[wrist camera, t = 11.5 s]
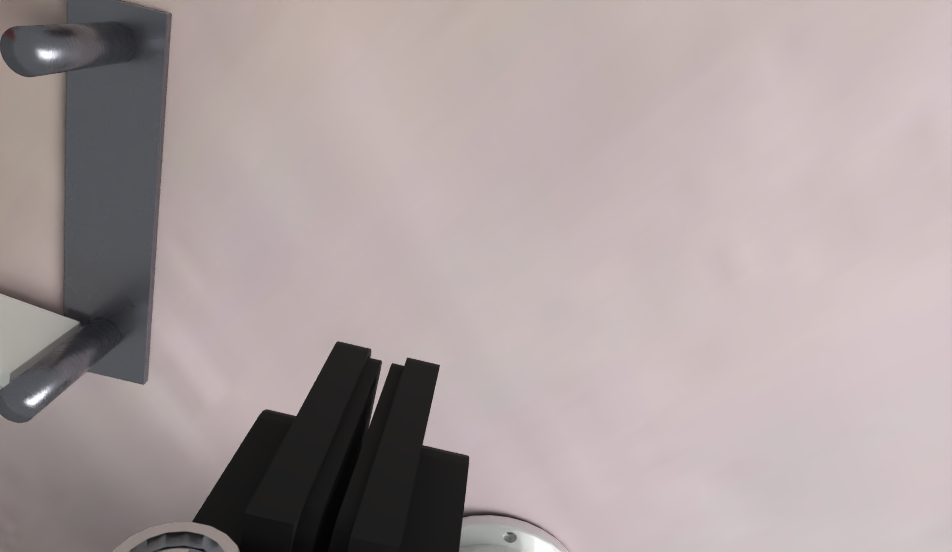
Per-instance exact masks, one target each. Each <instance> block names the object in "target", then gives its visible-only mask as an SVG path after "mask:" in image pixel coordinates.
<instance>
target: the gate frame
mask: <svg viewBox="0 0 952 552" xmlns="http://www.w3.org/2000/svg"><path fill="white" fill-rule="evenodd" d="M171 15H172V14H170V13H166V12H162V11H159V10H155V9H151V8H147V7H143V6H139V5H135V4H131V3H127V2H123V1H119V0H67V24H55V25H36V26H17V27H12V28H9V29H8V30H6V31H5V32H4V34H3V35H2V37H1V41H0V50H1V54H2V57H3V59H4V61H5V63H6V64H7V65H8V66H9V68H10V69H12V70H13V71H14V72H16V73H17V74H19V75H21V76H25V77H35V76H42V75H48V74H55V73H61V72H67V80H66V169H65V258H64V316H65V317H67V318H70V319H73V320H76V321H79V322H80V326H79V331H78V332H77V333H76V334H74V335H73V336H72V337H70V338H69V339H68V340H66V341H65V342H64V343H62V344H61V345H60V346H58V347H57V348H55V349H54V350H53V351H51V352H50V353H49V354H47V355H46V356H45V357H43V358H42V359H41V360H39V361H38V362H37V363H35V364H34V365H33V366H31V367H30V368H29V369H27V370H26V371H25V372H23V373H22V374H21V375H19V376H18V377H17V378H15V379H14V380H13V381H11V382H10V383H9V384H7V385H6V386H5V387H3V388H2V389H1V390H0V414H1V415H2V416H3V417H5V418H6V419H8V420H10V421H13V422H17V423H23V422H27V421H29V420H30V419H32V418H33V417H34V416H35V415H36V414H37V413H39V412H40V411H41V410H42V409H43V408H44V407H46V406H47V405H48V404H49V403H50V402H51V401H53V400H54V399H55V398H56V397H57V396H58V395H60V394H61V393H62V392H63V391H64V390H65V389H67V388H68V387H69V386H70V385H71V384H73V383H74V382H75V381H76V380H77V379H78V378H80V377H81V376H82V375H83V374H84V373H85V372H92V373H96V374H100V375H104V376H109V377H113V378H117V379H121V380H126V381H130V382H134V383H138V384H143V385H144V384H145V383H146V382H147V381H148V367H149V351H150V336H151V321H152V305H153V290H154V275H155V259H156V244H157V229H158V214H159V198H160V183H161V168H162V152H163V137H164V122H165V106H166V91H167V76H168V61H169V45H170V30H171Z"/></svg>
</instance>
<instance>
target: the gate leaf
mask: <svg viewBox="0 0 952 552" xmlns="http://www.w3.org/2000/svg"><path fill="white" fill-rule="evenodd" d="M79 326H80V322H79V321H76V320H73V319H70V318H67V317H65V316H62V315H59V314H56V313H53V312H50V311H48V310H45V309H42V308H39V307H36V306H34V305H31V304H28V303H25V302H22V301H20V300H17V299H14V298H11V297H8V296H6V295H3V294H0V386H2V387H5V386H6V385H7V384H9V383H10V382H11V381H13V380H14V379H15V378H17V377H18V376H19V375H21V374H22V373H23V372H25V371H26V370H27V369H29V368H30V367H31V366H33V365H34V364H35V363H37V362H38V361H39V360H41V359H42V358H43V357H45V356H46V355H47V354H49V353H50V352H51V351H53V350H54V349H55V348H57V347H58V346H60V345H61V344H62V343H64V342H65V341H66V340H68V339H69V338H70V337H72V336H73V335H74V334H76V333H77V332H78V331H79Z"/></svg>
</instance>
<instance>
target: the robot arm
mask: <svg viewBox="0 0 952 552" xmlns="http://www.w3.org/2000/svg"><path fill="white" fill-rule="evenodd" d="M370 357H371V349H369V348H364V347H360V346H356V345H352V344H347V343H343V342H339V341H338V342H336V344H335V346H334V348H333V349H332V351H331V353H330V355H329V357H328V359H327V361H326V362H325V364H324V366H323V368H322V370H321V372H320V374H319V375H318V377H317V379H316V381H315V383H314V385H313V387H312V388H311V390H310V392H309V394H308V396H307V398H306V400H305V401H304V403H303V405H302V407H301V409H300V411H299V413H298V414H297V416H293V415H289V414H284V413H280V412H276V411H271V410H267V409H266V410H264V411H262V413H261V414H260V415H259V417H258V418H257V420H256V421H255V423H254V424H253V426H252V428H251V429H250V431H249V432H248V434H247V436H246V437H245V439H244V440H243V442H242V444H241V445H240V447H239V448H238V450H237V451H236V453H235V455H234V456H233V458H232V459H231V461H230V463H229V464H228V466H227V467H226V469H225V471H224V472H223V474H222V475H221V477H220V478H219V480H218V482H217V483H216V485H215V486H214V488H213V490H212V491H211V493H210V494H209V496H208V498H207V499H206V501H205V502H204V504H203V505H202V507H201V509H200V510H199V512H198V513H197V515H196V517H195V518H194V520H193V521H192V522H171V523H166V524H162V525H157V526H153V527H149V528H147V529H145V530H143V531H141V532H139V533H136V534H134V535H132V536H130V537H129V538H128V539H127V540H125V541H124V542H123V543H121V544H120V545H119V546H118V547H116V548H115V549H114V550H113V551H112V552H569V551H568V550H567V549H566V548H565V547H564V546H563V545H562V544H561V543H560V542H559V541H558V540H557V539H556V538H554V537H553V536H551V535H550V534H548V533H547V532H545V531H544V530H542V529H540V528H538V527H536V526H534V525H531V524H529V523H527V522H524V521H520V520H517V519H513V518H509V517H502V516H493V515H483V516H469V517H464V518H463V512H464V503H465V494H466V485H467V476H468V467H469V456H467V455H463V454H458V453H454V452H450V451H445V450H441V449H437V448H432V447H428V446H424V445H422V444H423V440H424V435H425V431H426V426H427V422H428V417H429V413H430V408H431V403H432V399H433V394H434V390H435V385H436V381H437V376H438V372H439V367H440V365H437V364H433V363H429V362H424V361H420V360H416V359H412V358H407V360H406V363H405V366H402V365H398V364H393V363H392V364H391V367H390V370H389V373H388V376H387V378H386V381H385V384H384V387H383V390H382V393H381V395H380V398H379V401H378V404H377V407H376V409H375V412H374V415H373V418H372V421H371V424H370V419H371V414H372V409H373V404H374V399H375V394H376V389H377V385H378V380H379V375H380V370H381V364H382V361H381V360H376V359H372V358H370ZM369 424H370V426H369ZM368 428H369V429H368Z"/></svg>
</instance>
